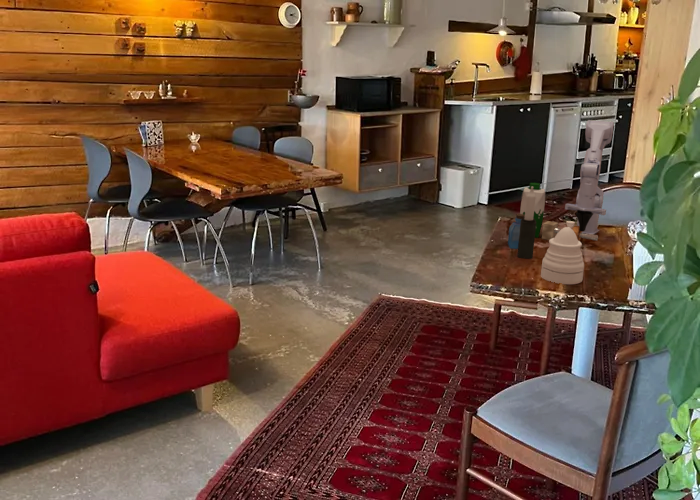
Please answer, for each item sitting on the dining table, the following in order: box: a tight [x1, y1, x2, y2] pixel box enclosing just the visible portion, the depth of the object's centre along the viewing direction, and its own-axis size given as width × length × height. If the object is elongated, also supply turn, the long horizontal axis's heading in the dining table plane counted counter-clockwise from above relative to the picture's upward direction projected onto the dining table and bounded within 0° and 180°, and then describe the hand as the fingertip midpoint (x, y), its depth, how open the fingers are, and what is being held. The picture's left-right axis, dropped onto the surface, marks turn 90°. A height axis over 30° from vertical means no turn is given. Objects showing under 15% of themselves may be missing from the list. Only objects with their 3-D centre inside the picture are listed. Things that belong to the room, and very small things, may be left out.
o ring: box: [572, 225, 582, 242], centre depth 253 cm, size 2×6×6 cm, turn 144°
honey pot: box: [540, 220, 585, 285], centre depth 213 cm, size 13×13×18 cm
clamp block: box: [541, 220, 559, 241], centre depth 259 cm, size 4×5×6 cm
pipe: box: [554, 227, 599, 242], centre depth 254 cm, size 20×2×2 cm, turn 54°
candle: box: [516, 186, 536, 260], centre depth 232 cm, size 5×5×25 cm
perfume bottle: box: [507, 213, 525, 250], centre depth 246 cm, size 6×6×12 cm
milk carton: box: [519, 182, 546, 239], centre depth 261 cm, size 9×9×20 cm
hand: (582, 230), depth 251 cm, fingers closed
